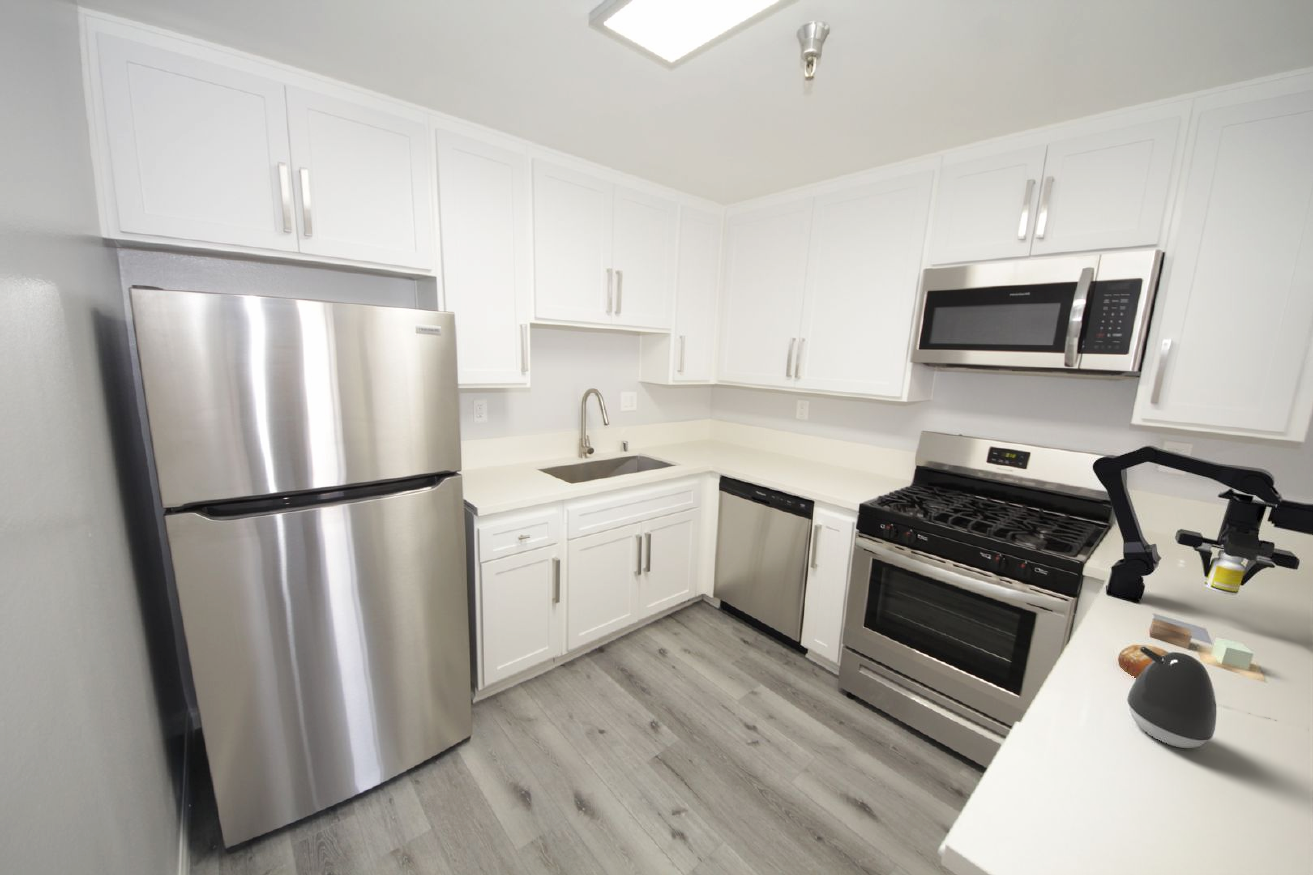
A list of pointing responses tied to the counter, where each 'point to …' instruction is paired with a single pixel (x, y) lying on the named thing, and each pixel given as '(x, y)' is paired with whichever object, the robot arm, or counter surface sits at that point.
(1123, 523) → the robot arm
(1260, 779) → the counter surface
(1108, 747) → the counter surface
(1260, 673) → the cork coaster
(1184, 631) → the walnut block
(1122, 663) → the bread roll
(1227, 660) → the sage cube
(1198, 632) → the slate coaster
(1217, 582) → the supplement bottle
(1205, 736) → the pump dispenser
